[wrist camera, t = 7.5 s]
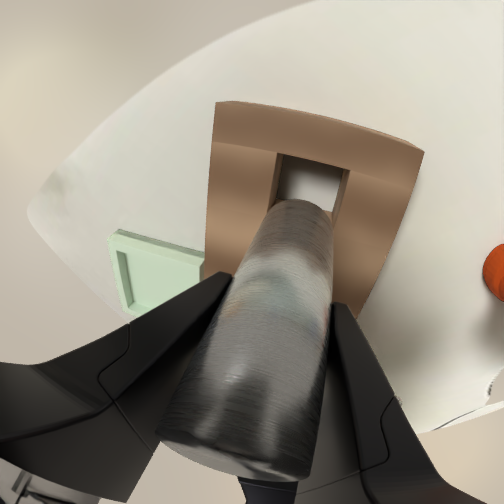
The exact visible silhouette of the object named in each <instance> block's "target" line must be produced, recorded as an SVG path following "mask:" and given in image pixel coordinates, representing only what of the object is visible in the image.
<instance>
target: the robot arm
mask: <svg viewBox="0 0 504 504" xmlns="http://www.w3.org/2000/svg"><path fill="white" fill-rule="evenodd" d="M232 279H233V276H232V274H230V273H226V272H223V271H218V272H216V273H215V274H213V275H211V276H209V277H208V278H206V279H204V280H202V281H201V282H199V283H197V284H195V285H194V286H192V287H190V288H188V289H187V290H185V291H183V292H181V293H180V294H178V295H176V296H174V297H173V298H171V299H169V300H167V301H166V302H164V303H162V304H160V305H159V306H157V307H155V308H154V309H152V310H150V311H148V312H147V313H145V314H143V315H141V316H140V317H138V318H136V319H134V320H133V321H131V322H130V323H129V324H125V325H124V326H122V327H120V328H119V329H117V330H115V331H113V332H111V333H109V334H107V335H106V336H104V337H102V338H100V339H97V340H95V341H93V342H91V343H89V344H87V345H85V346H82V347H80V348H78V349H75V350H73V351H71V352H68V353H66V354H64V355H61V356H59V357H57V358H54V359H52V360H50V361H47V362H44V363H40V364H34V365H23V364H13V363H4V362H0V504H98V503H99V500H100V499H101V498H105V499H109V500H114V501H118V502H123V503H126V502H127V500H128V499H129V497H130V495H131V493H132V492H133V490H134V488H135V486H136V484H137V483H138V481H139V479H140V477H141V475H142V474H143V472H144V470H145V468H146V466H147V465H148V463H149V461H150V459H151V457H152V456H153V453H154V452H155V450H156V448H157V446H158V445H159V443H160V440H159V439H158V438H157V436H156V435H155V430H156V428H157V426H158V424H159V422H160V420H161V418H162V416H163V414H164V412H165V410H166V408H167V406H168V404H169V402H170V400H171V398H172V396H173V394H174V392H175V390H176V388H177V386H178V384H179V382H180V380H181V378H182V376H183V374H184V372H185V370H186V368H187V366H188V365H189V363H190V361H191V359H192V357H193V355H194V353H195V351H196V349H197V347H198V345H199V343H200V341H201V339H202V337H203V335H204V333H205V331H206V329H207V327H208V325H209V323H210V322H211V320H212V318H213V316H214V314H215V312H216V310H217V308H218V306H219V304H220V302H221V300H222V298H223V296H224V294H225V292H226V290H227V289H228V287H229V285H230V283H231V281H232ZM237 477H238V481H239V483H240V484H241V487H242V490H243V492H244V495H245V498H246V504H487V503H485V502H482V501H480V500H478V499H476V498H474V497H472V496H470V495H468V494H466V493H464V492H463V491H461V490H459V489H457V488H455V487H453V486H451V485H450V484H448V483H447V482H446V481H445V480H444V479H443V478H442V477H441V476H440V475H439V473H438V472H437V470H436V469H435V467H434V465H433V464H432V462H431V460H430V458H429V457H428V455H427V453H426V451H425V450H424V448H423V446H422V445H421V443H420V441H419V439H418V438H417V436H416V434H415V432H414V431H413V429H412V427H411V425H410V423H409V422H408V420H407V418H406V416H405V414H404V412H403V410H402V408H401V406H400V404H399V402H398V400H397V398H396V396H394V392H393V390H392V388H391V386H390V384H389V382H388V380H387V378H386V376H385V374H384V372H383V370H382V368H381V366H380V364H379V362H378V360H377V358H376V356H375V354H374V352H373V351H372V349H371V347H370V345H369V343H368V341H367V339H366V337H365V336H364V334H363V332H362V330H361V328H360V326H359V325H358V323H357V321H356V319H355V317H354V316H353V314H352V312H351V310H350V309H349V307H348V305H347V304H345V303H341V302H337V301H334V302H333V303H332V307H331V324H330V337H329V349H328V360H327V370H326V379H325V387H324V395H323V403H322V410H321V417H320V423H319V429H318V435H317V441H316V447H315V452H314V458H313V463H312V468H311V472H310V476H309V477H308V478H306V479H304V480H300V481H292V482H273V481H263V480H256V479H250V478H244V477H240V476H237Z"/></svg>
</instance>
